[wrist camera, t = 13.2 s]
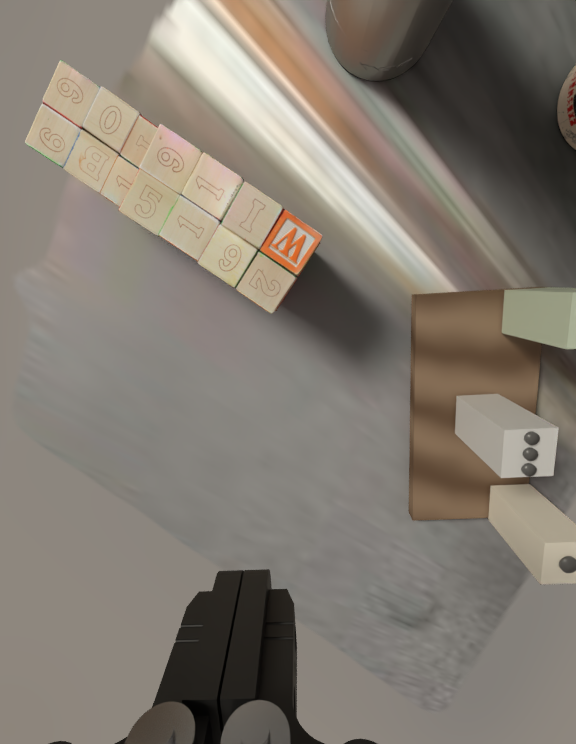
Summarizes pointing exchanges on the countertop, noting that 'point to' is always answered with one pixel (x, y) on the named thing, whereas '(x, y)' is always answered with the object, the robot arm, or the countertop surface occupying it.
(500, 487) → the one dot key
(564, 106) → the teacup with lid
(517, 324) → the two dot key
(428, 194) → the countertop surface
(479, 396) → the three dot key
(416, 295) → the brown wooden board
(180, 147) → the stack of blocks
